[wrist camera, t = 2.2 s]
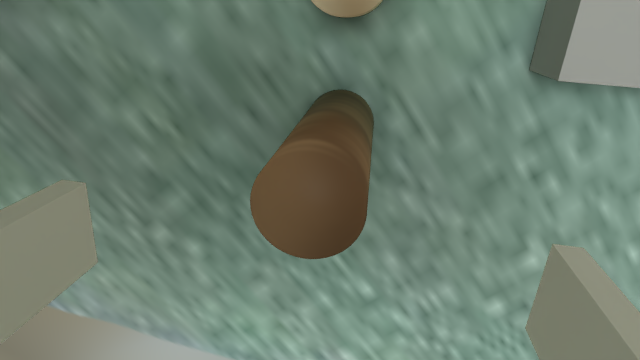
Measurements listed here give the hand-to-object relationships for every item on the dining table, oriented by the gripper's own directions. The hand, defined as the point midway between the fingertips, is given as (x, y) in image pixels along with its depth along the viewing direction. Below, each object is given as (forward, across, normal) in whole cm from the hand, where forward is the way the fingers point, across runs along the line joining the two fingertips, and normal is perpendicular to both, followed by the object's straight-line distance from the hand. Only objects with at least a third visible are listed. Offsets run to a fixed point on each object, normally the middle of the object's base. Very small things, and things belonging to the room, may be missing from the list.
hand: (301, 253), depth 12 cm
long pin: (+14, 0, 0) cm, 14 cm away
